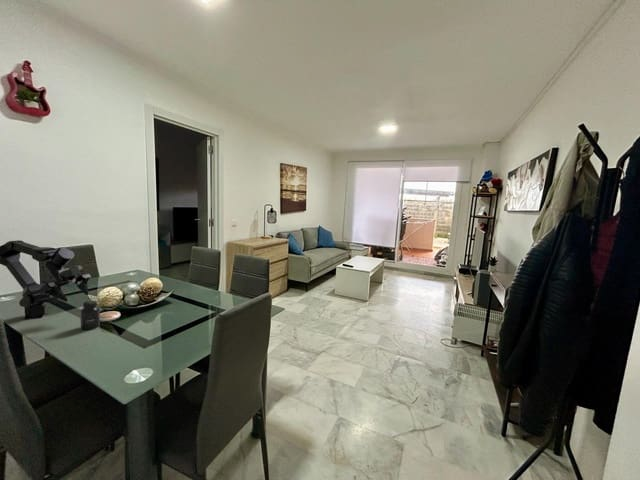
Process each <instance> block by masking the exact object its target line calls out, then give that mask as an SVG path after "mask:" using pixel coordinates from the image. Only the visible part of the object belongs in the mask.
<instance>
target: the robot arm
mask: <svg viewBox="0 0 640 480" xmlns="http://www.w3.org/2000/svg"><path fill="white" fill-rule="evenodd" d="M21 253H22V254H25V255H29V256H31V259H32V260H34V261H36V262H38V263H39V262H44V263H42V266H41V270H46V271H47V272H48V273H49V274H50V275H51V276H50V277H49V278H50V280H52V281H48V282H45V283H43V282H42V283H37V282H36V280H35V279H34V278H33V277H32V275H31V274H30V272H29V271H28V270H27V269H26V268H25V266H24V264H22V262H21V261H20V258H21ZM74 257H75V253H74V251H72V250H70V249H67V248H65V246H62V247H58V248H57V249H56V248H55V247H50V246H49V247H48V246H47V247H46V246H45V247H44V246H43V247H42V246H37V245H34V244H32V243H28V242H24V241H23V240H19V239H18V240H9V241H7V242H5V243H4V244H2V245H0V265H2V266H3V267H4V266H5V267H6V268H7V270H8V272H9V273H10V274H11V276H13V278H14V279H15V281H17V283H18V284H19V286H20V287H21V289H22V295H21V296H22V298H21V299H20V300H19V302H18V305H19V306H20V307H21V308H22V307H23V308H24V317H23V318H22V319H23V320H29V319H30V320H31V319H39V318H40V319H41V318H43V317H45V315H46V314H47V312H48V311H47V310H48V309H47V308H48V307H47V304H46V303H48V302H49V301H50V297H54V298H57V299H59V300H61V301H64V303H65V302H68V297H67V296H66V295H65V293H64V292H63V291H62V287H64V286H65V287H66V286H69V285H72V284H75V285H76V287H77V288H78V290H80V292H82V294H84V295H85V296H88V295H89V289H88V288H89V287H88V282H89V281H90V279H91V278H92V276H91V274H90V273H84V274H82V272H84V268H83V266H81V265H76V266H74V267H73V268H69V267H68V268H67V267H66V265H67V264H68V263H70V261H71V260H73V258H74ZM45 261H46V262H45Z"/></svg>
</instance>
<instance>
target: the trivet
mask: <svg viewBox="0 0 640 480" xmlns="http://www.w3.org/2000/svg"><path fill="white" fill-rule="evenodd" d="M120 317H121V312H120V311H114V310H113V311H105V312H101V313H100V322H110V321H113V320H117V319H119V318H120Z"/></svg>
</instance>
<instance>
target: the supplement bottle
mask: <svg viewBox="0 0 640 480" xmlns="http://www.w3.org/2000/svg"><path fill="white" fill-rule="evenodd" d="M100 314H101V313H100V307H99V306H98V302H97V300H89V301H84V302H83V304H82V309H81V310H80V314H79V315H80V318H79V319H80V322H79V323H80V330H83V331H90V330H95V329H97V328H99V327H100V324H101V323H100V322H101V321H100Z"/></svg>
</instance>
